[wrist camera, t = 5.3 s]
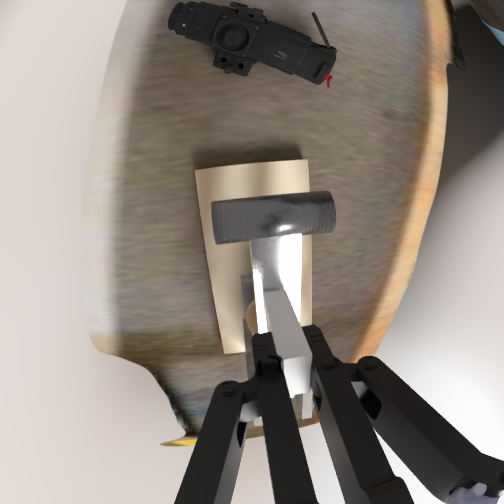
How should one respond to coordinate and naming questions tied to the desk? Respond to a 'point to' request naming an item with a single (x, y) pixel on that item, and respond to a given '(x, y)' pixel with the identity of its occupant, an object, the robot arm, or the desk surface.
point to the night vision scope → (253, 40)
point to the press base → (238, 254)
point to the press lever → (274, 237)
